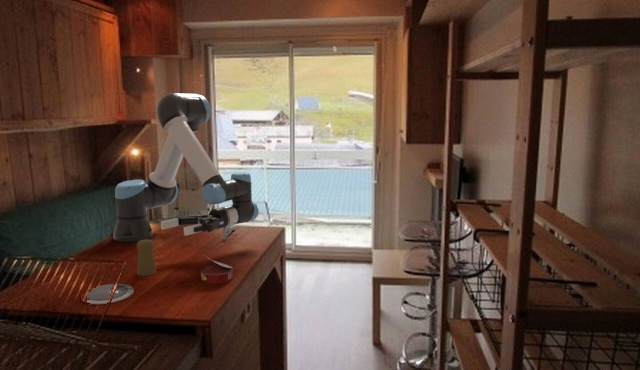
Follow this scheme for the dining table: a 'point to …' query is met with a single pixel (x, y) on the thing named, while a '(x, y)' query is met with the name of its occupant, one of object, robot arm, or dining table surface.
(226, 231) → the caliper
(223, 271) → the canned food
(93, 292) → the seat plate
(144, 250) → the cork
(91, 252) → the dining table surface
